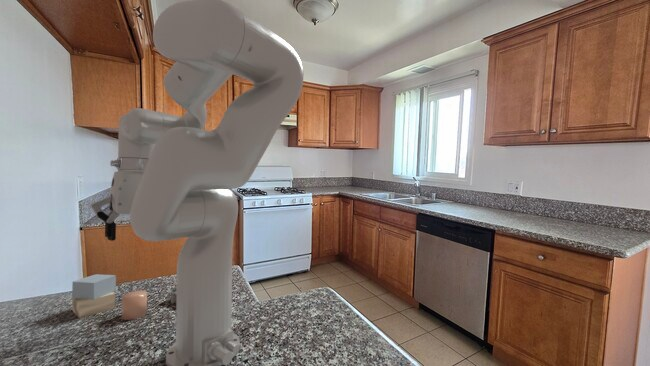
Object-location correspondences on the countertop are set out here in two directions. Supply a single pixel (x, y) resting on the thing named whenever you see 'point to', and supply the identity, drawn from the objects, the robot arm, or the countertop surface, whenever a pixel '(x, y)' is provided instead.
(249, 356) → the countertop surface
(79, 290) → the tower top block
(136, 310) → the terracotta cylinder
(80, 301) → the tower base block
